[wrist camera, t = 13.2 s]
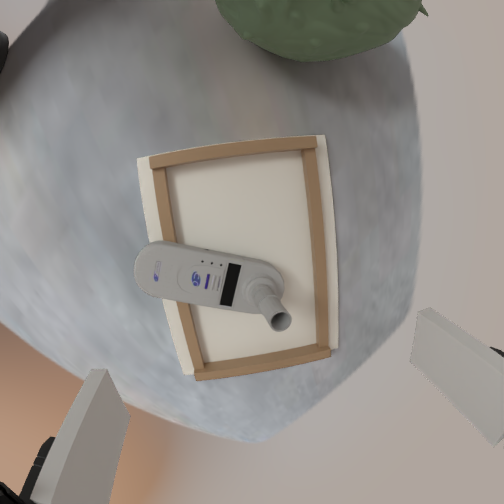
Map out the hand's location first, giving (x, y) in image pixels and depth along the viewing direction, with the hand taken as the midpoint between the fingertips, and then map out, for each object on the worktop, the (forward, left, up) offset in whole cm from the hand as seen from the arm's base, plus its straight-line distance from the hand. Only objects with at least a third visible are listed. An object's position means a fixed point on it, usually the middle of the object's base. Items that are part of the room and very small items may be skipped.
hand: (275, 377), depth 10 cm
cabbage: (-26, +9, -21) cm, 35 cm away
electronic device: (+1, -3, -20) cm, 20 cm away
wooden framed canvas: (+1, +1, -21) cm, 21 cm away
